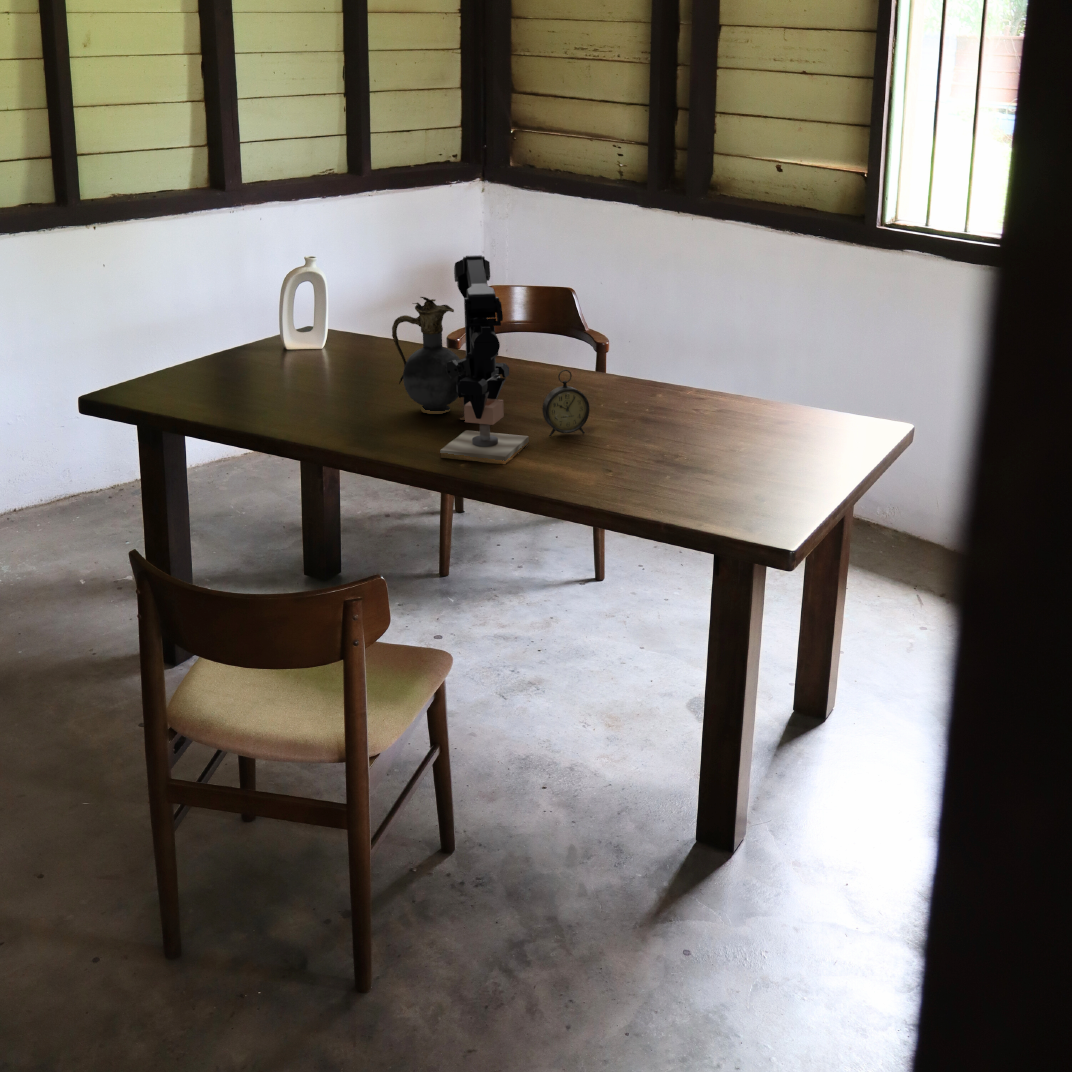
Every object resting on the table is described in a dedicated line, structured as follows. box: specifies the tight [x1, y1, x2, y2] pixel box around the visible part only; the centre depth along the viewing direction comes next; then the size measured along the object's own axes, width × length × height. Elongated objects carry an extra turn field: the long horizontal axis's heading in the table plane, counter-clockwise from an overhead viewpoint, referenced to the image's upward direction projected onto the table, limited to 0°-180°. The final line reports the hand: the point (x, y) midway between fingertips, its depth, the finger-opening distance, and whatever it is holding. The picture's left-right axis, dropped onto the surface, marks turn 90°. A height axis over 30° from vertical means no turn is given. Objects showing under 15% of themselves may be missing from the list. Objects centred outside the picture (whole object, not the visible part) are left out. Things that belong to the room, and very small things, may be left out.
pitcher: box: [391, 296, 460, 411], centre depth 303 cm, size 11×19×30 cm, turn 70°
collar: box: [463, 398, 505, 426], centre depth 274 cm, size 7×7×4 cm
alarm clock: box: [541, 369, 591, 437], centre depth 286 cm, size 11×5×16 cm, turn 105°
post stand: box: [439, 424, 530, 461], centre depth 276 cm, size 16×16×6 cm
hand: (484, 414), depth 274 cm, fingers closed on collar, 7 cm apart
